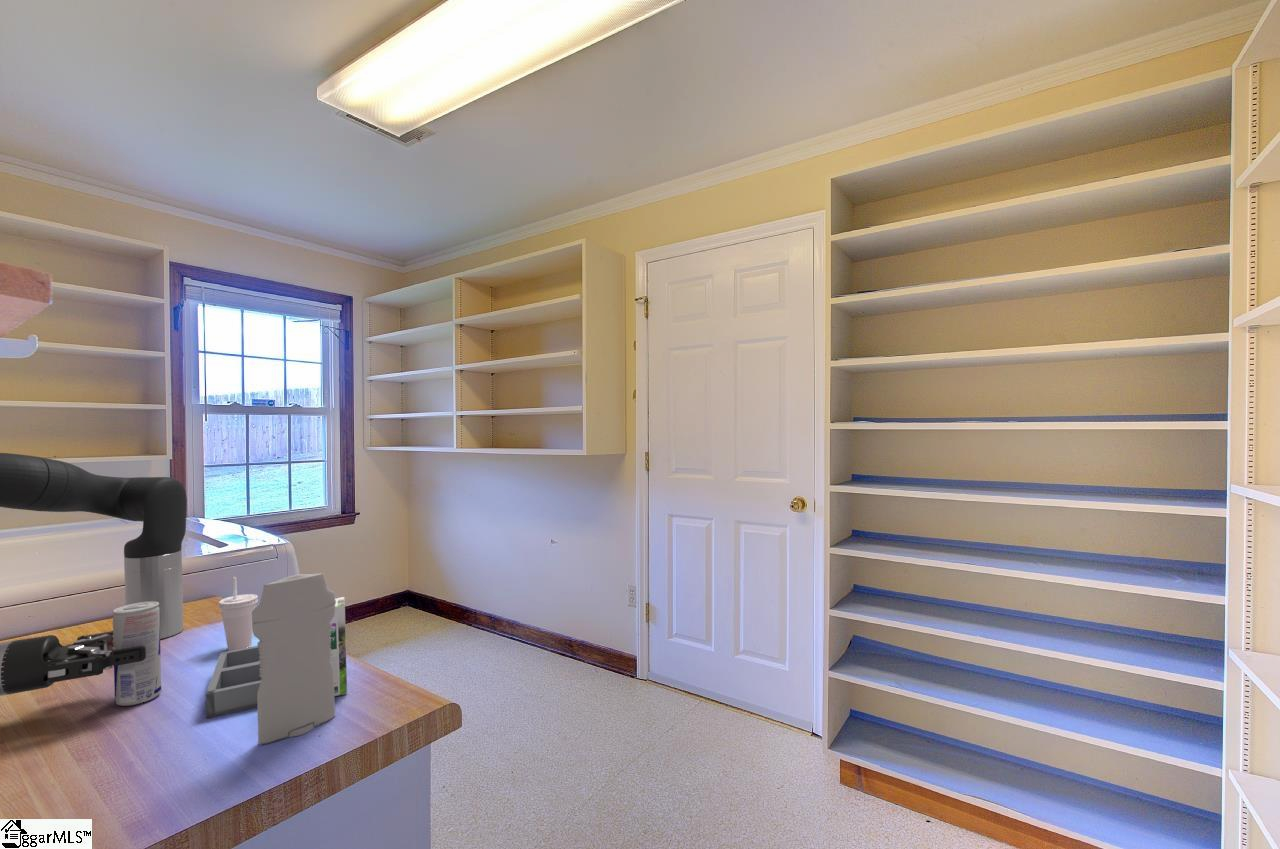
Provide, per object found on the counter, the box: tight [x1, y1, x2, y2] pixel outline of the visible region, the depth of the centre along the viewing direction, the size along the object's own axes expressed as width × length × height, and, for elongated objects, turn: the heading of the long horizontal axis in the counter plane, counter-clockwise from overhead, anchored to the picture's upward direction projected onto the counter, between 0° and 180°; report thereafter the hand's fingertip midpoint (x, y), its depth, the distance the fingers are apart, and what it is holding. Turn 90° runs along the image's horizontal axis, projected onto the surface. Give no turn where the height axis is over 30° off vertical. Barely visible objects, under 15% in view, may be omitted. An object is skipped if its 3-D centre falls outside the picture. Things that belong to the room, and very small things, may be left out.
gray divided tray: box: [205, 645, 261, 719], centre depth 95 cm, size 18×10×4 cm, turn 31°
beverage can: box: [112, 602, 162, 707], centre depth 91 cm, size 6×6×15 cm
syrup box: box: [330, 596, 348, 697], centre depth 93 cm, size 6×6×14 cm
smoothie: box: [218, 576, 259, 651], centre depth 112 cm, size 6×6×14 cm
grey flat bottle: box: [252, 572, 336, 746], centre depth 81 cm, size 11×4×22 cm, turn 139°
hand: (152, 643), depth 92 cm, fingers open, 8 cm apart
